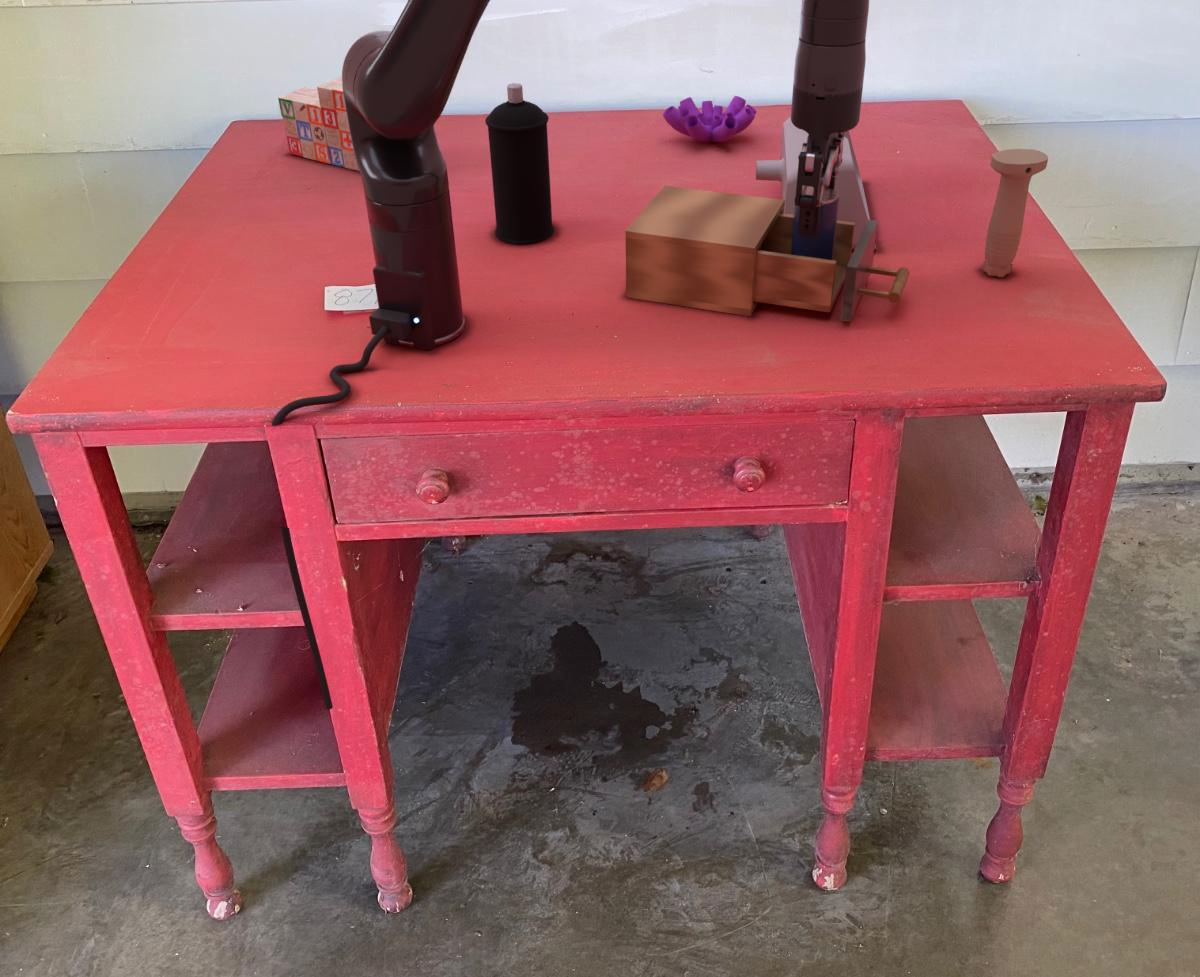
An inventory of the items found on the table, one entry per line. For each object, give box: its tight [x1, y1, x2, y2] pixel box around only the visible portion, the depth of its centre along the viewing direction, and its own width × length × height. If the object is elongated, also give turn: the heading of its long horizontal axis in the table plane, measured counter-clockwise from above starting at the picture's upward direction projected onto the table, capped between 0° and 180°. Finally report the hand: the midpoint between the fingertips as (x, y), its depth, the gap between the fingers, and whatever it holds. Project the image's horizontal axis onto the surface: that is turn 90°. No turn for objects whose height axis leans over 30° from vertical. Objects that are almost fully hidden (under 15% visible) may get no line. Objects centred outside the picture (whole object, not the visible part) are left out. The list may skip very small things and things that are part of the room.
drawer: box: [753, 213, 910, 323], centre depth 134 cm, size 20×14×7 cm
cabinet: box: [624, 185, 785, 317], centre depth 139 cm, size 16×15×9 cm
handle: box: [982, 148, 1049, 278], centre depth 137 cm, size 5×6×15 cm
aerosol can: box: [484, 82, 555, 246], centre depth 148 cm, size 8×8×20 cm
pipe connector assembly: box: [662, 95, 757, 143], centre depth 179 cm, size 11×15×10 cm
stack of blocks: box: [277, 76, 359, 172], centre depth 175 cm, size 21×6×12 cm, turn 57°
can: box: [791, 186, 839, 260], centre depth 133 cm, size 5×5×11 cm
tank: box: [755, 115, 877, 251], centre depth 153 cm, size 25×16×12 cm, turn 174°
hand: (815, 220), depth 132 cm, fingers open, 8 cm apart
